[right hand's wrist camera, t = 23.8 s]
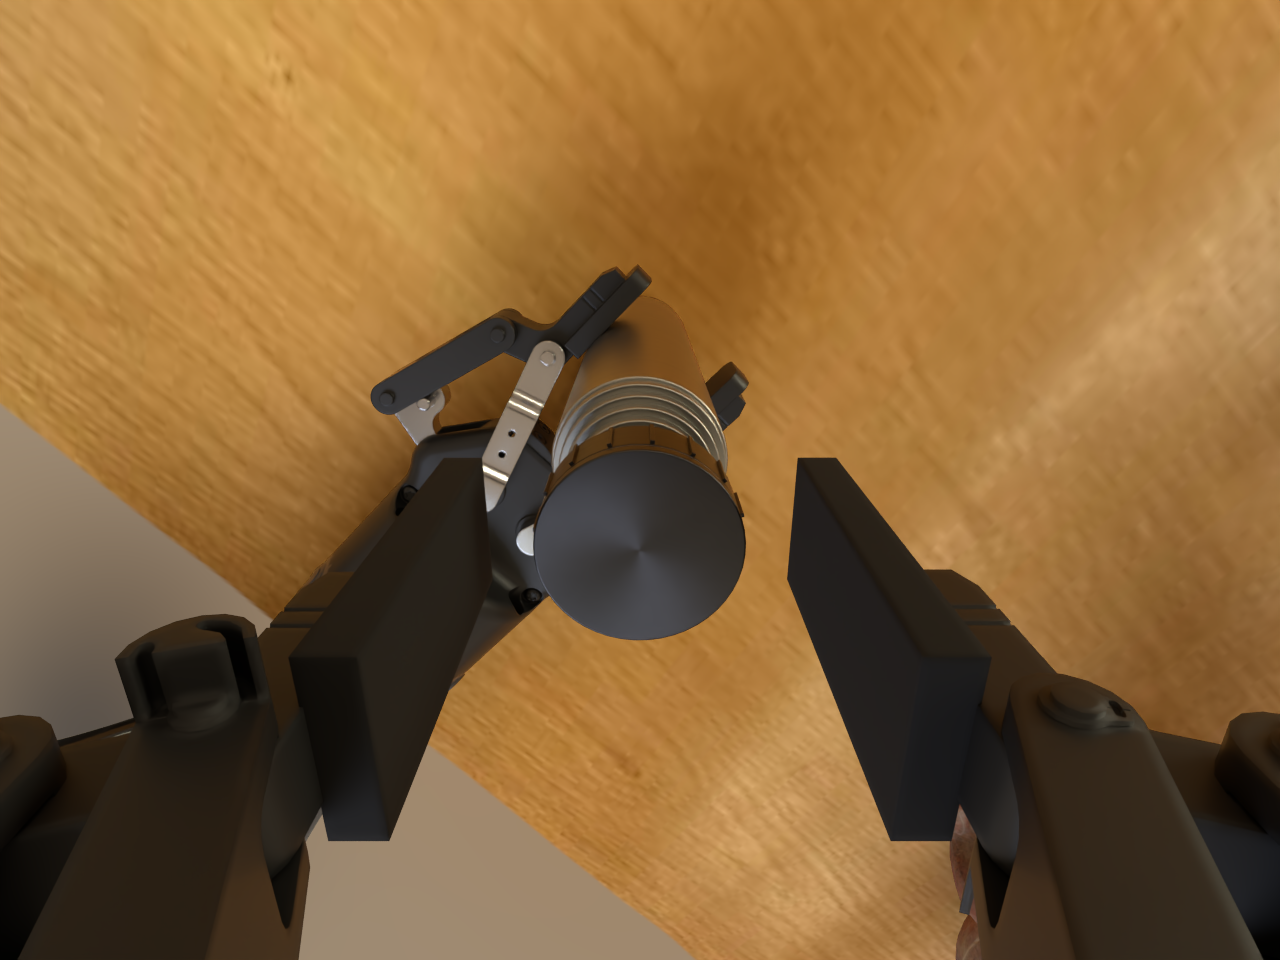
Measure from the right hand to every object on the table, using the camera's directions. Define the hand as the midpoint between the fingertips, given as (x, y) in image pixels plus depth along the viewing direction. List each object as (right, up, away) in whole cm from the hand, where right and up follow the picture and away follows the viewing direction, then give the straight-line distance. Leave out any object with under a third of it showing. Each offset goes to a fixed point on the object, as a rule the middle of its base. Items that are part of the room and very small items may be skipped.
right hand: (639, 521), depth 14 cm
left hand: (+2, +6, +11) cm, 13 cm away
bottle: (0, +7, +18) cm, 20 cm away
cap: (0, 0, -1) cm, 1 cm away
